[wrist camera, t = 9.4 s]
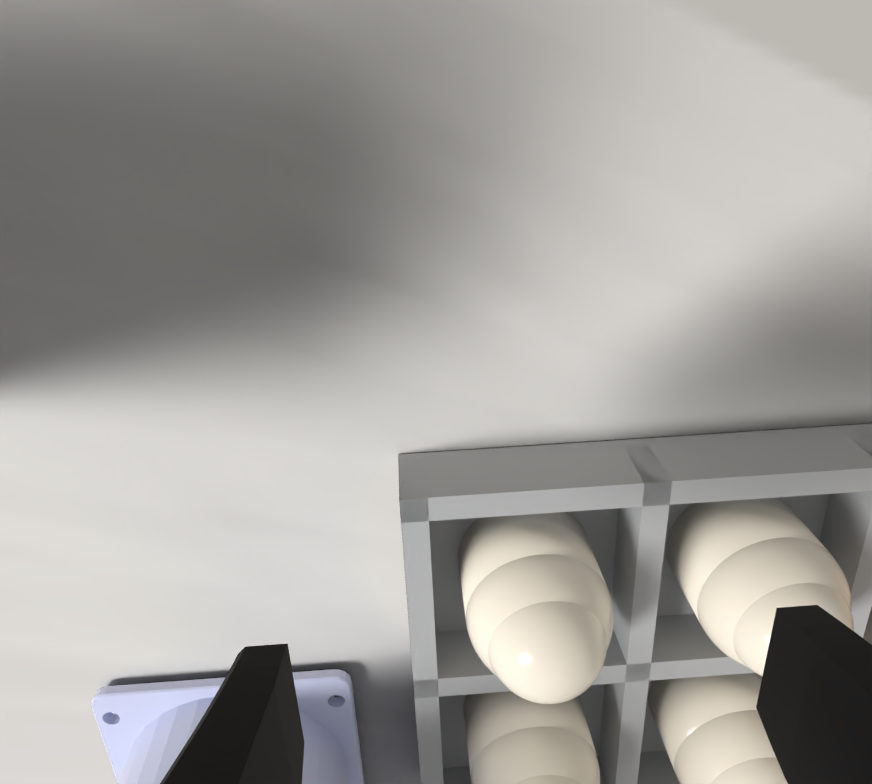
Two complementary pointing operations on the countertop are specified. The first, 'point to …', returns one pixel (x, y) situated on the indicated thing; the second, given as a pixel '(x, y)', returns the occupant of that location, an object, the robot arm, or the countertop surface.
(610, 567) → the egg carton
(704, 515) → the cream eggs
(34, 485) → the countertop surface
